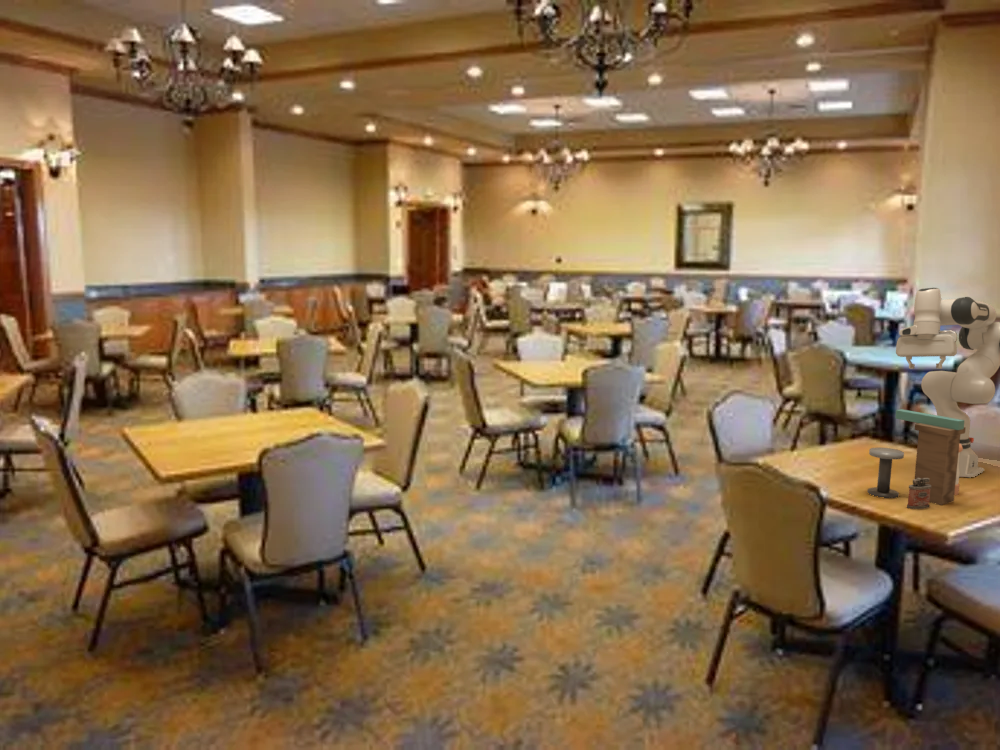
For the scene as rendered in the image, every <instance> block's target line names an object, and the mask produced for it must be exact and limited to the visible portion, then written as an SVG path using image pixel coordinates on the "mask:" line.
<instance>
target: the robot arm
mask: <svg viewBox="0 0 1000 750" xmlns="http://www.w3.org/2000/svg"><path fill="white" fill-rule="evenodd" d="M941 296H942V295H941V290H940V288H938V287H927V288H920V289H918V290H917V291H916V293H915V299H914V309H913V313H914V320H913V325H910V326H908V327H906V328H903V329H900V330H899V331H898V332H899V333H898V335H899V337H898V338H897V341H896V347H895V354H896V355H897V357H900V358H905V360H906V362H907V364H908V369H910V370H915V368H916V367H915V365H916V364H915V363H913V362H912V360H913V358H914V357H915V358H916V357H917V358H919V357H921V358H922V357H939V359H940V360H939V362H938V363H935V368H936V370H934V371H933V370H931V371H928V372H927V373H925V375H924V376H923V377H922V379H921V382H920V383H921V384H920V385H921V390H922V392H923V393H924V395H925V396H927V397H928V399H930V401H931V403H932V404H933V406H934V408H935V411H936V415H937V416H943V417H949V418H954V419H960V420H964V427H966V428H965V433H964V434H960V443H959V444H961V445H962V447H963V450H962V451H961V452H960V455H959V478H960V477H961V478H964V477H965V478H971V477H974V478H976V477H977V476H979V475H980V473H981V474H982V473H984V472H985V468H983V467H981V466H979V456H978V454H976V453H975V451H974V450H973V449H972V448H971V447H972V446H971V445H972V443H974V442H975V441H974V440H975V438H974V437H970V427H971V418H970V417H969V415H968V414H967V413H966V412H964V411H963V410H961V408H960V407H959V406H958V405H959V404H958V403H965V404H969V405H970V404H971V405H972V404H973V405H982V404H988V403H989V402H991V400H992V399H993V398H994V396H995V394H996V386H995V383H994V381H993V380H992V379H991V378H992V377H993V376H994V375H995V374H996V373H997V372H998V370H999V368H1000V321H996V319H997V311H996V309H995V307H994V306H992V305H991V304H990V303H987V302H985V301H982V300H981V301H980V300H974V299H973V298H972V297H970V296H964V297H958V298H946V299H943V298H942V297H941ZM957 325H959V327H961V328H960V329H959V332H958V334H957V332H956V331H954V330H952V329H951V330H949V329H948V330H941V327H942V326H957ZM957 340H958V342H959V344H960V346H961V347H962V348H963V349H965V350H971V351H973V350H976V352H975V351H974V353H972V354H971V355H970V356H967V358H966V359H965V360H964V361H962V362H961V363H960V364H959V366H958V367H957V371H956V372H954V371H947V370H946V371H945V370H942V369H943V364H944V363H945V361H946V358H947V357H955V356H956V355H957V354H958V349H957V348H958V346H957ZM937 369H938V370H937ZM940 369H941V370H940ZM983 471H984V472H983ZM978 474H979V475H978ZM975 476H976V477H975Z"/></svg>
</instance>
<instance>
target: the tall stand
mask: <svg viewBox="0 0 1000 750" xmlns="http://www.w3.org/2000/svg"><path fill="white" fill-rule="evenodd" d="M965 428H966V427H964V429H962V430H954V429H949V428H944V427H938V426H933V425H927V424H922V423H914V431H918V437H917V449H916V459H915V469H914V479H917V478H921V479H922V478H929V479H930V481H929V482H926V484H929V485H931V489H930V499H929V503H931V502H932V503H931V504H935V503H936V504H935V505H939V506H943V504H944V505H946V504H949V503H953V502H955V501H954V500H955V495H954V493H955V483H956V473H957V463H958V453H959V443H960V434H964V433H965Z"/></svg>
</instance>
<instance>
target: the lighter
mask: <svg viewBox="0 0 1000 750" xmlns="http://www.w3.org/2000/svg"><path fill="white" fill-rule="evenodd" d="M929 481H930V479H929V478H922V479H921V478H917V479H912V484H909V485H908V497H907V498H908V499H907V505H906V508H907V509H909V508H910V509H909V510H923V509H924V508H925V509H929V508H930V507H931V506H930V502H929V499H930V489H931V485H929V484H926V482H929Z"/></svg>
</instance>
